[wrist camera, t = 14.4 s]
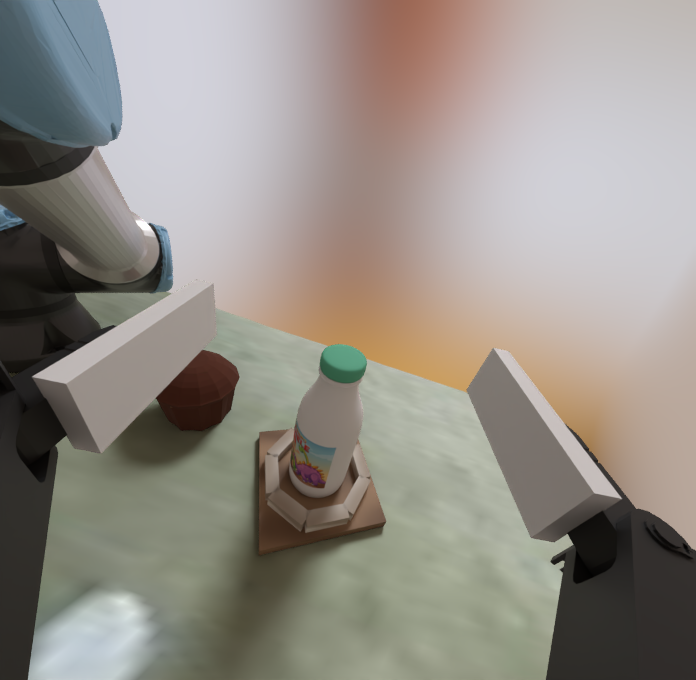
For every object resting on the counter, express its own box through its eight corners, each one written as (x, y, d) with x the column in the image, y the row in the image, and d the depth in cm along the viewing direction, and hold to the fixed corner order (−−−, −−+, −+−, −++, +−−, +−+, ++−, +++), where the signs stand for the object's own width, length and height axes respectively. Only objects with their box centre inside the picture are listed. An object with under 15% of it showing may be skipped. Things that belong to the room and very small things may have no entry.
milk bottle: (329, 439, 41) (357, 331, 30) (354, 485, 36) (398, 373, 25) (280, 457, 37) (293, 339, 26) (301, 511, 32) (327, 391, 21)
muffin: (252, 395, 47) (252, 350, 41) (214, 447, 37) (209, 397, 32) (189, 377, 47) (182, 330, 42) (137, 425, 38) (119, 371, 33)
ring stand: (259, 437, 40) (259, 425, 39) (351, 428, 45) (355, 417, 44) (258, 555, 28) (259, 544, 27) (383, 525, 33) (389, 515, 32)
